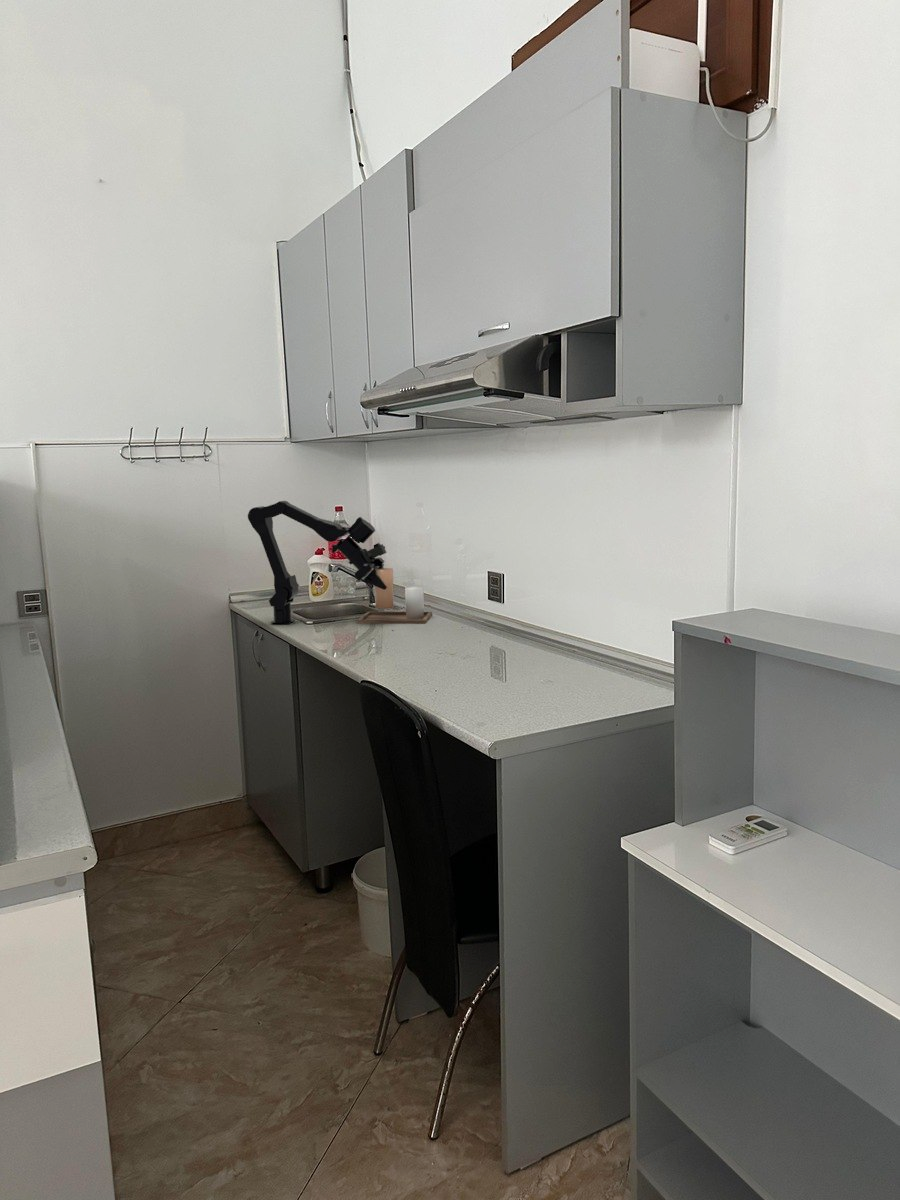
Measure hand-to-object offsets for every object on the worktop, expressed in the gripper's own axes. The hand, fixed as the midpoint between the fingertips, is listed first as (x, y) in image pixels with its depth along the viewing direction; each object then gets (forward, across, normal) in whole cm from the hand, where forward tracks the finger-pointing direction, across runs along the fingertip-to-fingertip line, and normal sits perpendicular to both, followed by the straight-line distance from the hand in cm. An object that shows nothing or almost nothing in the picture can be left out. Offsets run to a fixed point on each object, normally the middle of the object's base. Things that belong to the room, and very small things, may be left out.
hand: (388, 587), depth 283 cm
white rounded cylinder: (+13, +5, +2) cm, 14 cm away
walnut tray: (+10, +2, +7) cm, 12 cm away
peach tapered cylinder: (+4, 0, +6) cm, 7 cm away
